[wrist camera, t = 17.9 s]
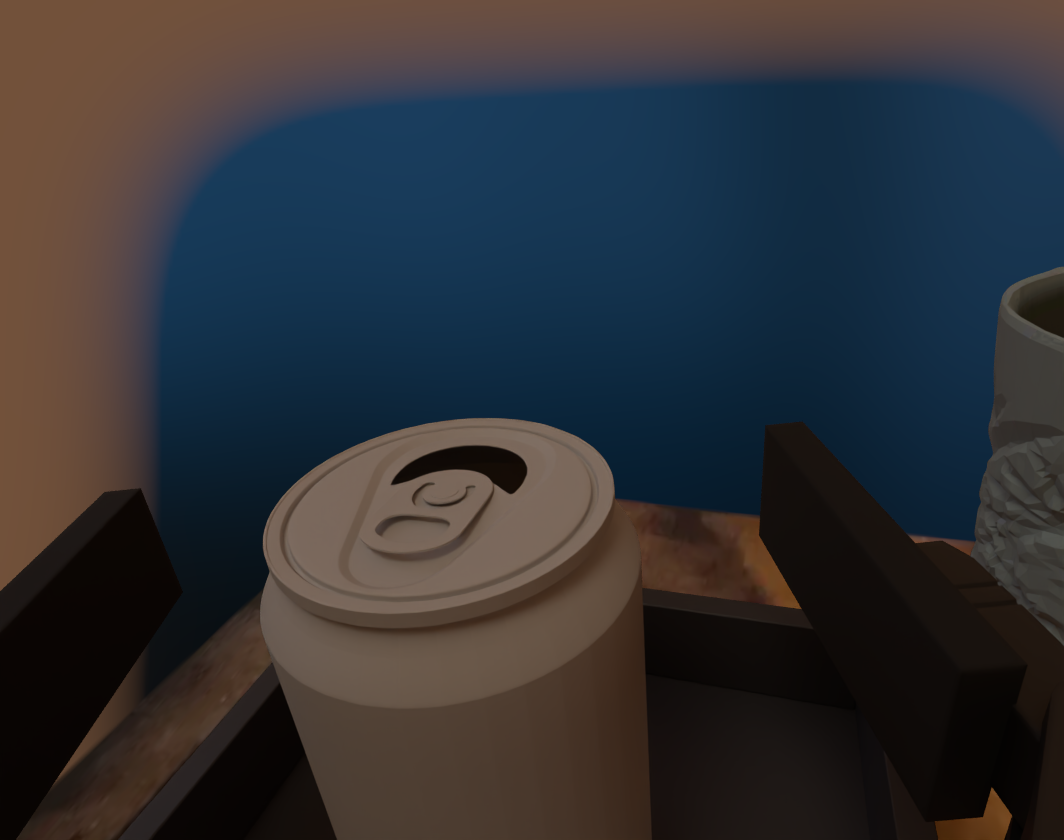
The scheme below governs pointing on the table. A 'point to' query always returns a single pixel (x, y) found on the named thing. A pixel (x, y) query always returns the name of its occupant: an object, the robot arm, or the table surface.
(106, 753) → the table surface
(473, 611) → the beverage can
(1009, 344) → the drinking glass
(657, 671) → the tray
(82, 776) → the table surface
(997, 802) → the table surface
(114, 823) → the table surface
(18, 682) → the robot arm
